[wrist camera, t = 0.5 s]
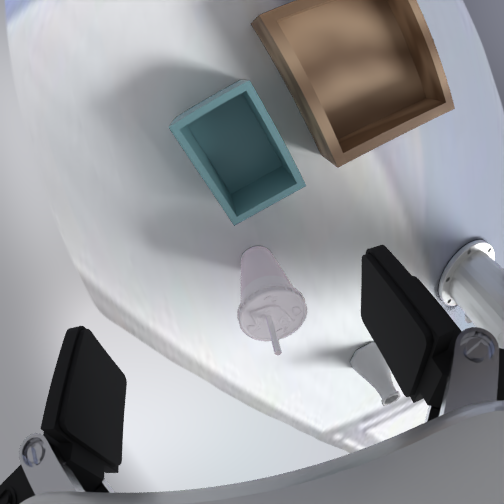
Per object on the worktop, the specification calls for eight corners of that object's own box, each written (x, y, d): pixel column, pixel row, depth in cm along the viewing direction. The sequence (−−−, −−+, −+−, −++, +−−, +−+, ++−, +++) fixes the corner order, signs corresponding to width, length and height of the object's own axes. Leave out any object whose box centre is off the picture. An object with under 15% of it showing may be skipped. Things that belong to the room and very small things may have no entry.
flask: (384, 360, 52) (406, 402, 44) (348, 372, 52) (367, 417, 44) (389, 334, 48) (416, 379, 40) (350, 347, 48) (373, 396, 40)
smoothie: (243, 227, 34) (267, 318, 22) (294, 245, 36) (337, 333, 24) (220, 274, 37) (232, 371, 25) (269, 288, 39) (297, 381, 27)
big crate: (429, 101, 29) (454, 108, 25) (321, 154, 31) (337, 167, 27) (378, -20, 21) (401, -28, 17) (250, 23, 23) (259, 15, 19)
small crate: (288, 166, 31) (306, 185, 26) (228, 199, 32) (234, 225, 27) (240, 79, 26) (249, 80, 21) (175, 117, 27) (168, 127, 22)
